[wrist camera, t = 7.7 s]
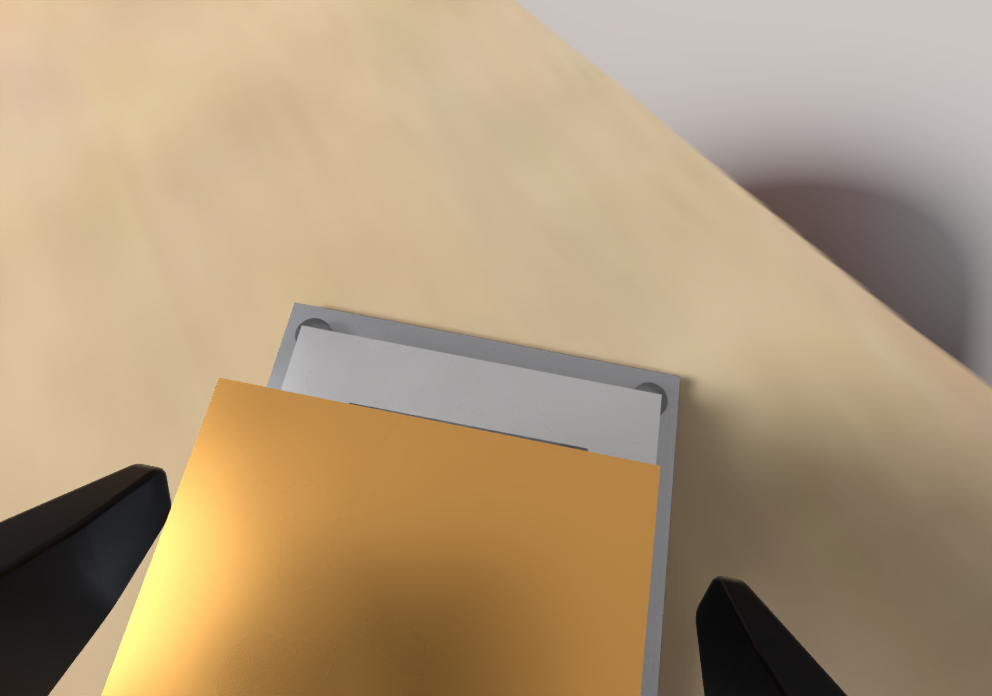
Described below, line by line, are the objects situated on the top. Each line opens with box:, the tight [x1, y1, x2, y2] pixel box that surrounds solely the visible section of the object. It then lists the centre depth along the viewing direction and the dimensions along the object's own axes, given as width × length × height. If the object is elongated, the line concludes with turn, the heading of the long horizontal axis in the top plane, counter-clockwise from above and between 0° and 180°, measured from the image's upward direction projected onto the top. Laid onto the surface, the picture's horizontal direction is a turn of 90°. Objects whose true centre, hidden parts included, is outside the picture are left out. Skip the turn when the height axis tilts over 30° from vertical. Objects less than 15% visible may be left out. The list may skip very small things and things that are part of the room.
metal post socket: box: [267, 303, 680, 696], centre depth 15 cm, size 14×14×3 cm
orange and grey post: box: [102, 378, 660, 696], centre depth 10 cm, size 4×4×12 cm
